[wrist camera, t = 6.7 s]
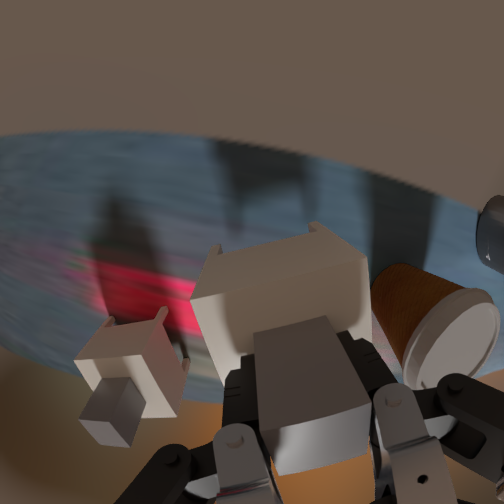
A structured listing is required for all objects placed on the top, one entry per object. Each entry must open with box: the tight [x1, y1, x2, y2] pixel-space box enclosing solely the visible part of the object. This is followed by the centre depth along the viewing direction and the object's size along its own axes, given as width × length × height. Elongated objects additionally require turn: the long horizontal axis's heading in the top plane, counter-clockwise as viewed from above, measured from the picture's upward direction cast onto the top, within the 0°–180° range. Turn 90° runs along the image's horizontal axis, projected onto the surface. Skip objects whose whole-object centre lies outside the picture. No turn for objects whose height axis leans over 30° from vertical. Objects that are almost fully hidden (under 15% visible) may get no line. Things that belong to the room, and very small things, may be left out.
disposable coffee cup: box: [370, 263, 500, 390], centre depth 20 cm, size 10×10×12 cm
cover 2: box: [190, 221, 372, 476], centre depth 13 cm, size 7×7×13 cm
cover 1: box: [74, 306, 190, 447], centre depth 20 cm, size 7×7×13 cm
